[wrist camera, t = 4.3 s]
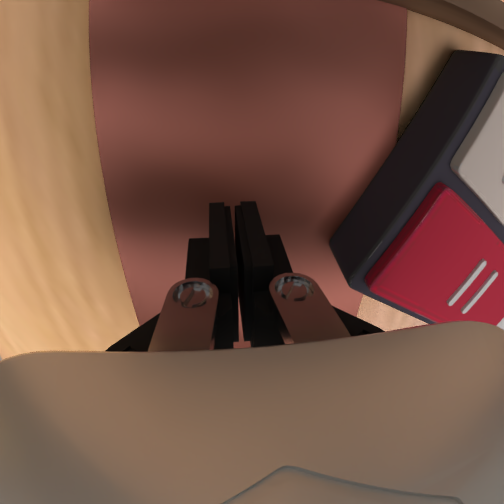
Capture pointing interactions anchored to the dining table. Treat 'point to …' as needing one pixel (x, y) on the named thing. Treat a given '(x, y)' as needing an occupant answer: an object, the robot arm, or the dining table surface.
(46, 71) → the dining table surface
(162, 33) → the brown wooden tray
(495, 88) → the calculator
